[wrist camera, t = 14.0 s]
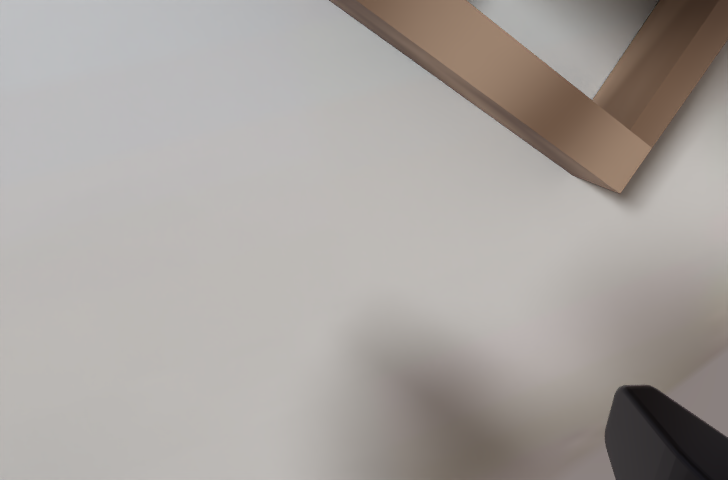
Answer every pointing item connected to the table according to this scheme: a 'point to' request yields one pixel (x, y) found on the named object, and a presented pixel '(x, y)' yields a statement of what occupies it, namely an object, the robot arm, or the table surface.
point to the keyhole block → (560, 77)
